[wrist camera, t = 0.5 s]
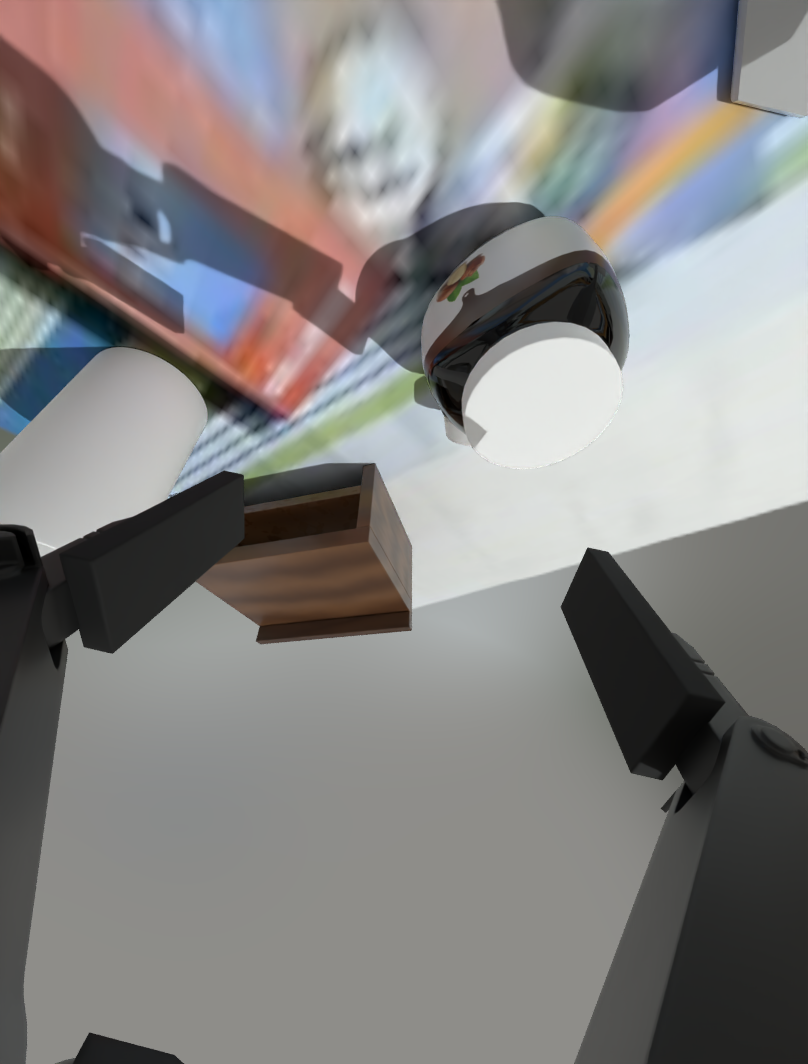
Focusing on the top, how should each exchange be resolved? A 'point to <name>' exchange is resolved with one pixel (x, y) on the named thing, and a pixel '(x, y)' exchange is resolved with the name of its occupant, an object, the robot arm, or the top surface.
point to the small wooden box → (320, 565)
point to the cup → (101, 448)
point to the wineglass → (772, 56)
